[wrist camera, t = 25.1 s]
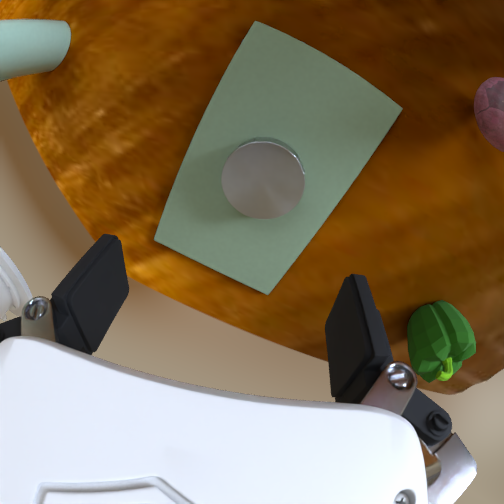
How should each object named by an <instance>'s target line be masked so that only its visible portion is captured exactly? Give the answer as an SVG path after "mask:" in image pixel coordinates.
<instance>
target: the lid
mask: <svg viewBox="0 0 504 504" xmlns="http://www.w3.org/2000/svg"><path fill="white" fill-rule="evenodd" d="M304 174H305V170H304V168H303V166H302V163H301V160H300V158H299V154H297V153H296V152H295V151H294V150H293V149H292V148H291V147H290V146H289V145H287V143H284V142H282V141H280V140H278V139H274V138H272V137H258V138H256V137H254V138H253V139H250V140H247V141H245V142H243V143H242V144H241V143H240V144H239V145H238V147H237V148H236V149H235V150H234V151H233V152H232V154H230V155H229V156H228V157H227V161H226V162H225V164H224V167H223V170H222V176H221V183H222V188H223V192H224V194H225V196H226V198H227V200H228V201H229V202H230V204H231V205H232V206H233V207H234V208H235V209H236V210H238V211H239V212H241V213H242V214H244V215H246V216H248V217H252V218H256V219H274V218H277V217H280V216H283V215H285V214H286V213H288V212H289V211H291V210H292V209H293V208H294V207H295V206H296V205H297V204H298V202H299V201H300V199H301V197H302V195H303V192H304V189H305V176H304Z"/></svg>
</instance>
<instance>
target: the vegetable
mask: <svg viewBox="0 0 504 504" xmlns="http://www.w3.org/2000/svg"><path fill="white" fill-rule="evenodd" d="M474 113H475V117H476V121H477V124H478V127H479V129H480V131H481V133H482V134H483V136H484V137H485V138H486V139H487V140H488V142H490V143H491V144H492V145H493V146H494V147H495V148H497V149H499V150H500V151H503V152H504V78H501V77H493V78H490V79H488V80H486V81H485V82H484V83H482V84H481V85H480V87H479V88H478V90H477V92H476V95H475V99H474Z"/></svg>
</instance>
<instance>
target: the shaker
mask: <svg viewBox="0 0 504 504" xmlns="http://www.w3.org/2000/svg"><path fill="white" fill-rule="evenodd" d="M70 40H71V31H70V27H69V25H68V24H67V23H66V22H65V21H63V20H51V19H6V20H0V81H4V80H8V79H13V78H17V77H22V76H27V75H33V74H39V73H45V72H50V71H52V70H53V69H55V68H56V67H57V66H58V65H59V64H60V63H61V62H62V60H63V59H64V57H65V55H66V53H67V51H68V48H69V45H70Z"/></svg>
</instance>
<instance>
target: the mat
mask: <svg viewBox="0 0 504 504" xmlns="http://www.w3.org/2000/svg"><path fill="white" fill-rule="evenodd" d="M401 111H402V108H401V107H400V106H399V105H398V104H396V103H395V102H394V101H393V100H391V99H390V98H389V97H388V96H386V95H385V94H384V93H382V92H381V91H380V90H378V89H377V88H376V87H374V86H373V85H372V84H370V83H369V82H367V81H366V80H364V79H363V78H362V77H360V76H359V75H357V74H356V73H354V72H353V71H351V70H350V69H348V68H346V67H345V66H343V65H342V64H340V63H338V62H337V61H335V60H333V59H332V58H330V57H328V56H327V55H325V54H323V53H322V52H320V51H318V50H316V49H314V48H312V47H311V46H309V45H307V44H305V43H303V42H301V41H299V40H297V39H295V38H293V37H291V36H289V35H287V34H285V33H283V32H281V31H278V30H276V29H274V28H272V27H269V26H267V25H265V24H262V23H260V22H257V21H255V22H254V23H253V25H252V27H251V28H250V30H249V31H248V33H247V35H246V36H245V38H244V40H243V41H242V43H241V45H240V47H239V48H238V50H237V52H236V53H235V55H234V57H233V59H232V61H231V62H230V64H229V66H228V68H227V70H226V72H225V73H224V75H223V77H222V79H221V81H220V83H219V85H218V87H217V89H216V91H215V93H214V95H213V97H212V99H211V101H210V103H209V105H208V107H207V109H206V111H205V113H204V115H203V117H202V119H201V121H200V123H199V126H198V128H197V130H196V132H195V134H194V137H193V139H192V141H191V143H190V146H189V148H188V150H187V153H186V155H185V157H184V160H183V162H182V165H181V167H180V169H179V172H178V174H177V177H176V179H175V182H174V184H173V187H172V190H171V192H170V195H169V197H168V200H167V203H166V206H165V208H164V211H163V214H162V217H161V219H160V222H159V225H158V228H157V231H156V234H155V237H154V240H155V241H157V242H159V243H161V244H163V245H165V246H167V247H169V248H171V249H173V250H175V251H177V252H179V253H181V254H183V255H185V256H187V257H189V258H191V259H193V260H195V261H197V262H199V263H201V264H203V265H205V266H207V267H210V268H212V269H214V270H216V271H218V272H220V273H222V274H224V275H226V276H228V277H230V278H233V279H235V280H237V281H239V282H241V283H243V284H245V285H247V286H250V287H252V288H254V289H256V290H258V291H260V292H263V293H265V294H267V295H268V294H269V293H270V292H271V291H272V289H273V288H274V287H275V286H276V284H277V283H278V282H279V280H280V279H281V278H282V277H283V275H284V274H285V273H286V271H287V270H288V269H289V268H290V266H291V265H292V264H293V262H294V261H295V260H296V259H297V257H298V256H299V255H300V253H301V252H302V251H303V249H304V248H305V247H306V245H307V244H308V243H309V241H310V240H311V239H312V237H313V236H314V235H315V233H316V232H317V231H318V229H319V228H320V227H321V225H322V224H323V223H324V221H325V220H326V219H327V217H328V216H329V215H330V213H331V212H332V210H333V209H334V208H335V206H336V205H337V204H338V202H339V201H340V199H341V198H342V197H343V195H344V194H345V193H346V191H347V190H348V188H349V187H350V186H351V184H352V183H353V181H354V180H355V178H356V177H357V176H358V174H359V173H360V171H361V170H362V169H363V167H364V166H365V164H366V163H367V161H368V160H369V158H370V157H371V156H372V154H373V153H374V151H375V150H376V148H377V147H378V145H379V144H380V142H381V141H382V139H383V138H384V136H385V135H386V133H387V132H388V131H389V129H390V128H391V126H392V125H393V123H394V121H395V120H396V118H397V117H398V115H399V114H400V112H401ZM254 137H256V138H258V137H272V138H274V139H278V140H280V141H282V142H284V143H287V145H289V146H290V147H291V148H292V149H293V150H294V151H295V152H296V153H297V154H299V158H300V160H301V163H302V166H303V168H304V170H305V174H304V176H305V189H304V192H303V195H302V197H301V199H300V201H299V202H298V204H297V205H296V206H295V207H294V208H293V209H292V210H291V211H289V212H288V213H286V214H285V215H283V216H280V217H277V218H274V219H256V218H252V217H248V216H246V215H244V214H242V213H241V212H239V211H238V210H236V209H235V208H234V207H233V206H232V205H231V204H230V202H229V201H228V200H227V198H226V196H225V194H224V192H223V188H222V183H221V176H222V170H223V167H224V164H225V162H226V161H227V157H228V156H229V155H230V154H232V152H233V151H234V150H235V149H236V148H237V147H238V145H239V144H240V143H241V144H242V143H243V142H245V141H247V140H250V139H253V138H254Z"/></svg>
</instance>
